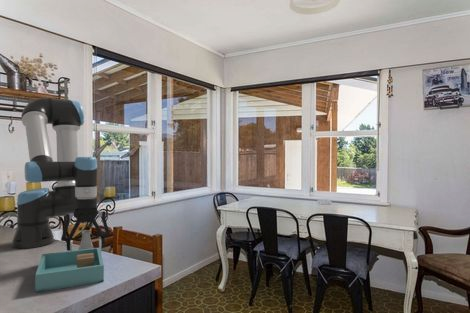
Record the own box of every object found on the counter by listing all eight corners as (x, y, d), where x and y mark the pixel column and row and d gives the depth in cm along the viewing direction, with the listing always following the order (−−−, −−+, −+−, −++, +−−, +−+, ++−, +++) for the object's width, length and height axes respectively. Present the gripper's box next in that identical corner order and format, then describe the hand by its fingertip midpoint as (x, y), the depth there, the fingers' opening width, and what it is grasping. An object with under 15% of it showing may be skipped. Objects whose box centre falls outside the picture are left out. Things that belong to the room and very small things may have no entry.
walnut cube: (77, 269, 105) (77, 254, 105) (93, 267, 108) (93, 252, 108) (76, 275, 101) (76, 259, 101) (93, 272, 103) (94, 257, 103)
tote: (42, 268, 108) (42, 254, 108) (99, 261, 116) (99, 247, 116) (35, 292, 90) (35, 275, 90) (103, 281, 98) (103, 265, 98)
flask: (88, 261, 115) (88, 234, 115) (70, 259, 117) (70, 233, 117) (100, 255, 122) (100, 229, 122) (83, 253, 124) (84, 228, 124)
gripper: (52, 200, 111) (51, 264, 111) (117, 197, 121) (117, 255, 121) (53, 197, 118) (53, 258, 118) (115, 194, 127) (115, 250, 128)
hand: (86, 256), depth 119 cm, fingers open, 9 cm apart
